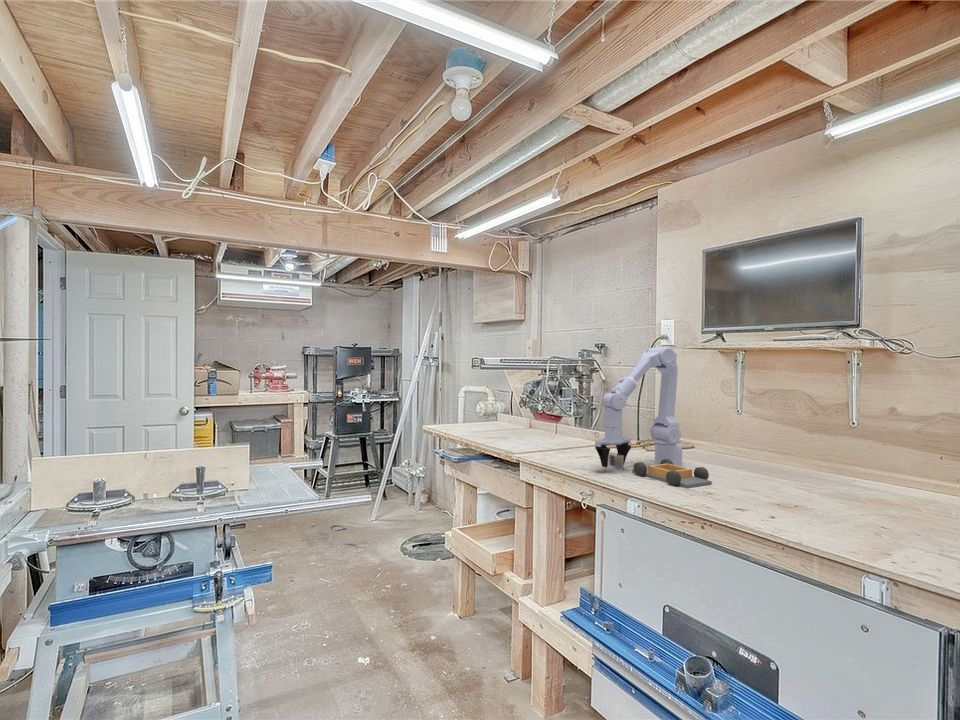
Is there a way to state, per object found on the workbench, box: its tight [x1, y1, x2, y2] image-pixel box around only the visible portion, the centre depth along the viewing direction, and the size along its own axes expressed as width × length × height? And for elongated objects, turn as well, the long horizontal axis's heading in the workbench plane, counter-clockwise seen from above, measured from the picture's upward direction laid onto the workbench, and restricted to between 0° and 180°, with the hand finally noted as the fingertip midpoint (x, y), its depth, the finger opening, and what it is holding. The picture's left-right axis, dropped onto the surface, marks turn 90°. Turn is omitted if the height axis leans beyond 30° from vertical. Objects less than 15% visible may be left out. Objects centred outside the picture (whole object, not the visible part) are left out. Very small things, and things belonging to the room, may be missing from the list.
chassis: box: [631, 459, 713, 489], centre depth 160 cm, size 14×23×4 cm, turn 27°
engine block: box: [602, 451, 625, 474], centre depth 170 cm, size 4×6×6 cm, turn 27°
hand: (612, 465), depth 170 cm, fingers open, 7 cm apart
